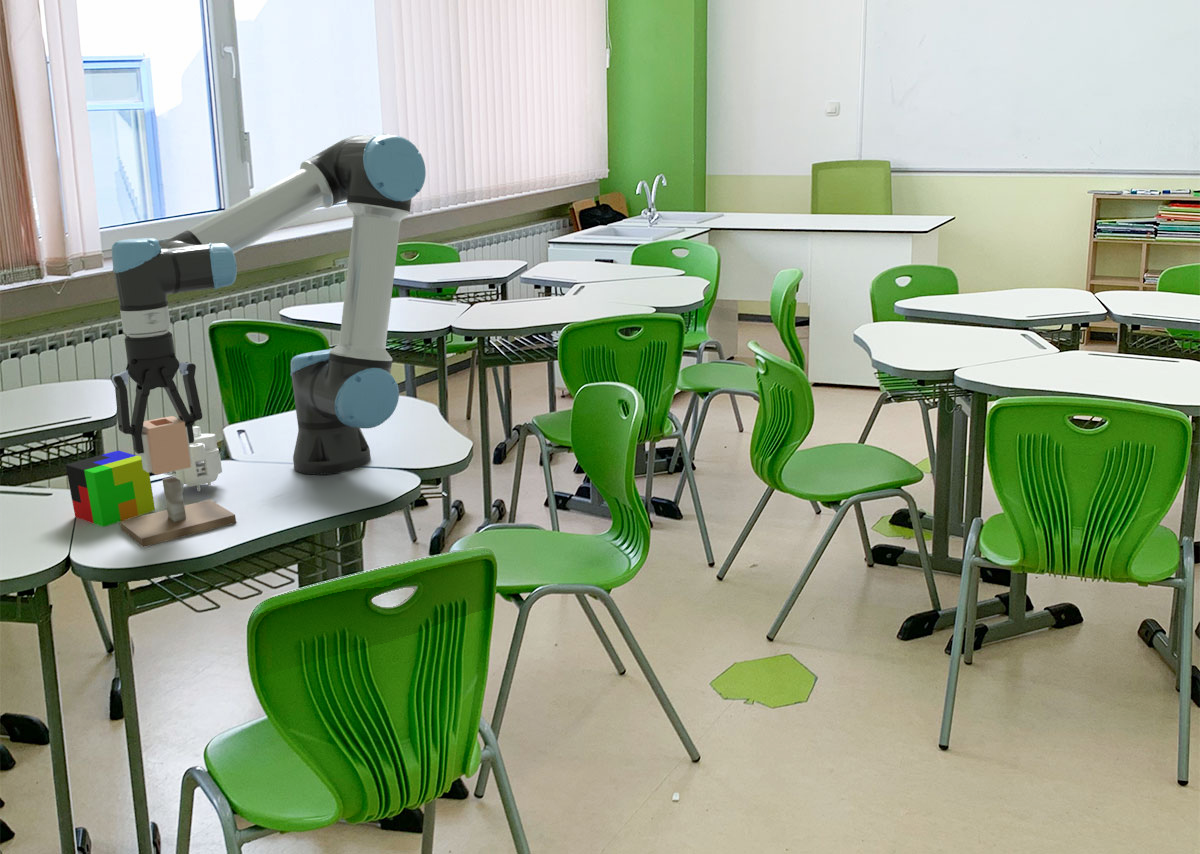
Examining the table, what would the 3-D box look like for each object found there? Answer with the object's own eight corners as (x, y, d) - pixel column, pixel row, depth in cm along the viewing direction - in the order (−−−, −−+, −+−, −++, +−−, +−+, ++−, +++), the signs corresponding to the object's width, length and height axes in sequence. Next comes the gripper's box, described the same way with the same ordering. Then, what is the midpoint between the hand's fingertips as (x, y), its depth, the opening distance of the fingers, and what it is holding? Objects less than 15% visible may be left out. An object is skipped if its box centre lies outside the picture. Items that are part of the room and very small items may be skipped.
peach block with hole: (144, 467, 201) (137, 422, 199) (178, 460, 204) (172, 415, 202) (155, 474, 196) (148, 428, 194) (191, 467, 200) (184, 421, 198)
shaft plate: (211, 507, 212) (204, 462, 210) (236, 522, 203) (229, 476, 201) (120, 529, 203) (112, 483, 201) (143, 547, 194) (134, 498, 192)
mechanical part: (213, 474, 232) (204, 417, 229) (234, 488, 223) (225, 428, 220) (155, 487, 226) (146, 428, 223) (174, 502, 216) (164, 440, 213)
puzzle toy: (126, 501, 219) (117, 450, 216) (155, 510, 212) (146, 458, 210) (75, 517, 211) (65, 464, 209) (103, 527, 205) (93, 473, 202)
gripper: (95, 344, 186) (117, 483, 192) (212, 327, 197) (229, 458, 203) (81, 339, 191) (103, 474, 197) (196, 322, 203) (213, 450, 209)
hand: (167, 466), depth 200 cm, fingers closed on peach block with hole, 6 cm apart
